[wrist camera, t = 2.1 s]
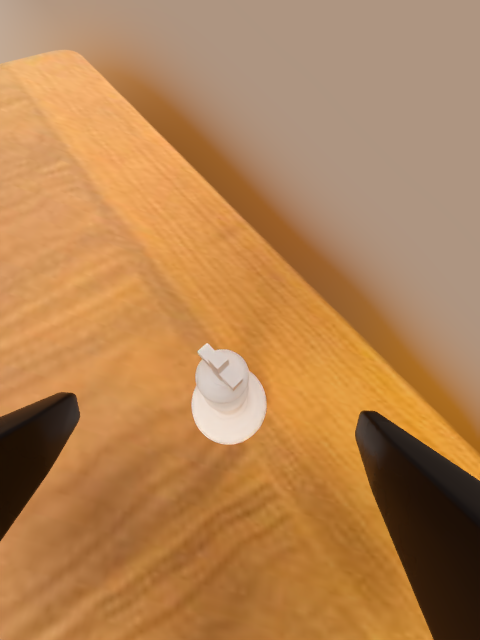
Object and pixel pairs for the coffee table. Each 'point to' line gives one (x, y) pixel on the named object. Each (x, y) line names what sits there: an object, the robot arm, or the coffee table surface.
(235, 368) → the chess piece
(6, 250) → the coffee table surface
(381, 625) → the coffee table surface
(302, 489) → the coffee table surface
